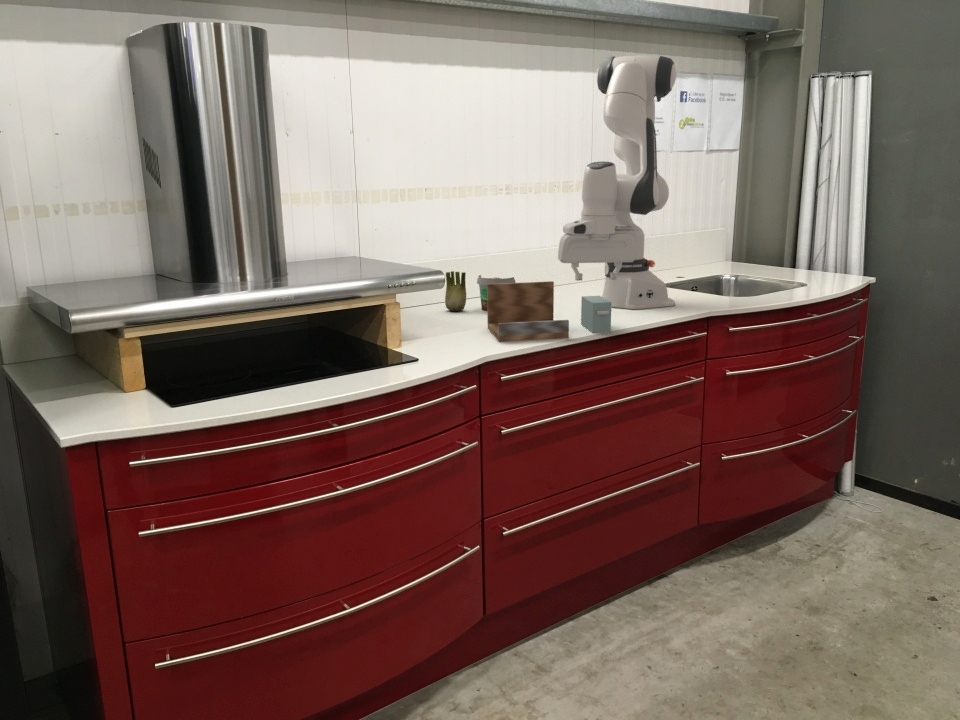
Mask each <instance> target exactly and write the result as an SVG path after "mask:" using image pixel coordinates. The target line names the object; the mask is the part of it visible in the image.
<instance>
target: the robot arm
mask: <svg viewBox="0 0 960 720" xmlns="http://www.w3.org/2000/svg"><path fill="white" fill-rule="evenodd" d="M595 78H596V83H597V88H598V90H599V92H601V94H604V95H605V98H604V103H603V111H602V112H603V118H602V119H603V121H604V124H605V126H606V127H607V128H608V129H609V130H610V131H611V132H612V133H613V134H614V141H613V151H614V154H615V155H616V157H617V158H618V159H619V160H620V161H622V162H624V164H625V166H626V173H617V168H616V164H615V163H614V162H611V161H594V162H589V164H587V165H586V166H585V169H584V173H583V180H582V187H581V188H582V191H581V200H582V205H583V206H582V211H581V214H580V216H581V217H580V219H578V220H574V221H572V222H568V223H566V224H564V225H563V226H562V231H563V233H564V234H563V235H561V237H560V240H559V243H558V253H557V259H558V261H560V263H562V264H571V269H572V271H573V272H574V274H575V276H574V279H575V281H583V273H581V272H580V271H579V270H578V268H579V267H580V264H592V263H593V264H596V263H597V264H598V263H599V264H603V263H604V276H605V279H604V286H603V287H604V288H603V292H602V296H601V297H603V298H605V299H606V300H608V301H610V302H612V303H611V308H618V309H619V308H620V309H627V310H628V309H629V310H642V309H652V308H662V307H665V308H666V307H672V306H673V307H674V306H676V302H675V300H674V299H673V298H671V297H669V296H668V295H669V294H668V293H669V292H668V288H667V285H666V283H665V282H664V281H662V280H661V279H660V278H659V277H658V276H657V275H655V274H654V273H653V272H652V271H651V270H649V269H650V268H654V267H655V265H656V262H655V260H651V259H649V260H648V259H647V258H645V253H644V252H645V232H644V230H643V229H642V228H641V227H640V226H639V225H637V224H636V223H634V221H633V219H632V216H631V214H634V215H642V216H646V215H648V214H650V212H657V211H660V210H662V209H663V208H664V207H665V206H666V204H667V202H668V199H669V195H670V188H669V185H668V183H667V181H666V180H665V179H664V177H662V175H660V173H659V172H658V166H657V165H658V164H657V163H658V161H657V160H658V159H657V158H658V157H657V156H658V155H657V154H658V153H657V133H656V127H655V120H656V103H655V98H656V102H657V103H659V102H660V101H661V99H662V98H665V97H666V96H668V95H669V94H670V93H671V92H672V90H673V87H674V85H675V83H676V81H677V69H676V67H675V62H674V61H673V59H672V58H670V57H667V56H662V55H660V56H654V55H644V54H637V55H623V56H615V55H614V56H607V57H604V58H603V59H602V60H601V61H600V63H599V65H598V68H597V70H596V77H595Z"/></svg>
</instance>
